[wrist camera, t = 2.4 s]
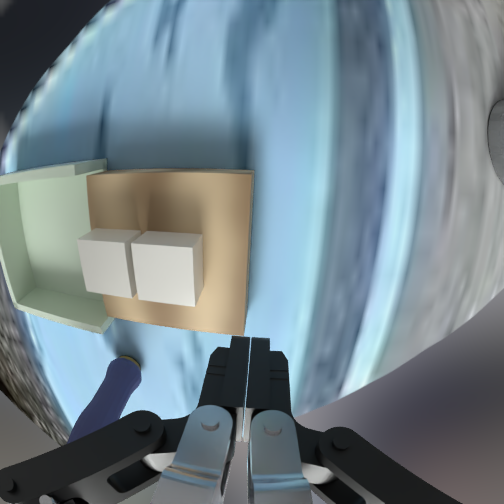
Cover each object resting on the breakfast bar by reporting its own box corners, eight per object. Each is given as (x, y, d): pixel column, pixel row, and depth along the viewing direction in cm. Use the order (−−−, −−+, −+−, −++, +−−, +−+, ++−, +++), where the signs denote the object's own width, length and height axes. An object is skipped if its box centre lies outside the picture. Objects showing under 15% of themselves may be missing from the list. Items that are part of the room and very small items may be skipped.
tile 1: (202, 234, 18) (192, 247, 16) (203, 287, 19) (195, 306, 17) (147, 230, 18) (130, 243, 16) (151, 282, 20) (138, 299, 17)
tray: (106, 158, 19) (74, 164, 15) (123, 307, 24) (102, 334, 20) (16, 171, 20) (-13, 179, 16) (37, 289, 25) (15, 308, 21)
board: (254, 170, 19) (251, 174, 16) (246, 314, 24) (243, 335, 21) (107, 170, 20) (86, 175, 17) (121, 299, 24) (107, 316, 21)
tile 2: (140, 230, 18) (124, 242, 16) (145, 281, 20) (132, 298, 17) (95, 228, 18) (76, 239, 16) (103, 276, 20) (86, 291, 18)
